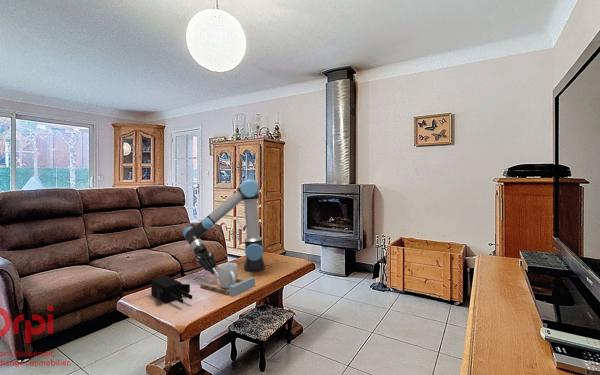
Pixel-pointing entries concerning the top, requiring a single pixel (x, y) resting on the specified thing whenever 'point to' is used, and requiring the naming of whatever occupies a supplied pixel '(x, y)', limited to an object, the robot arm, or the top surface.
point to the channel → (217, 288)
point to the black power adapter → (169, 289)
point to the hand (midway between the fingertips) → (217, 277)
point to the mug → (227, 274)
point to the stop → (241, 286)
